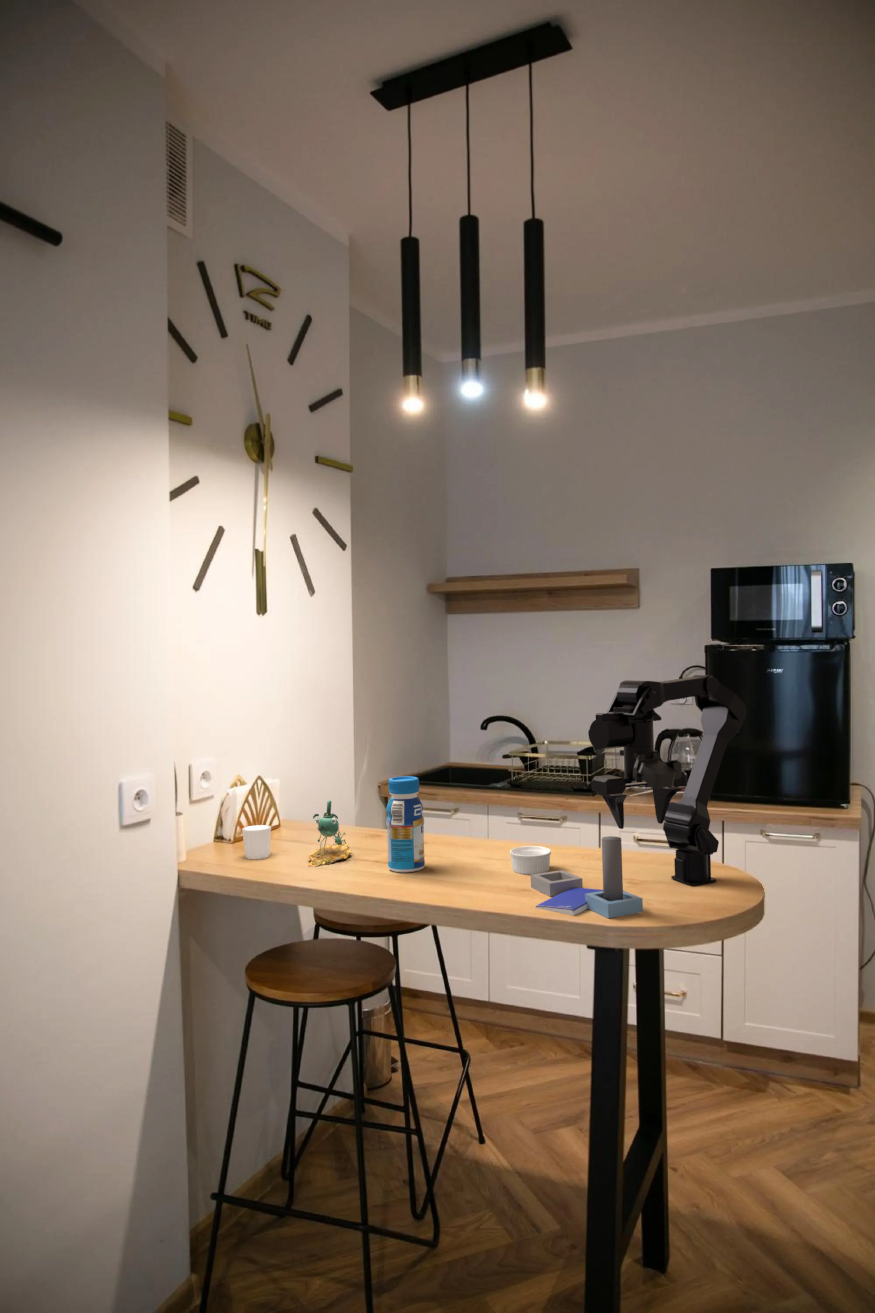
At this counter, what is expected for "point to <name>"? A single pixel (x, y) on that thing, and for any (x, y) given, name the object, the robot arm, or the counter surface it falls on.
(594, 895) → the blue bezel
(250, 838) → the white short cylinder
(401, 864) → the beverage bottle
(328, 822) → the frog figurine
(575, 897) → the blue book
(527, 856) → the ramekin
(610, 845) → the plug
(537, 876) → the grey square frame
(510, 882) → the counter surface
